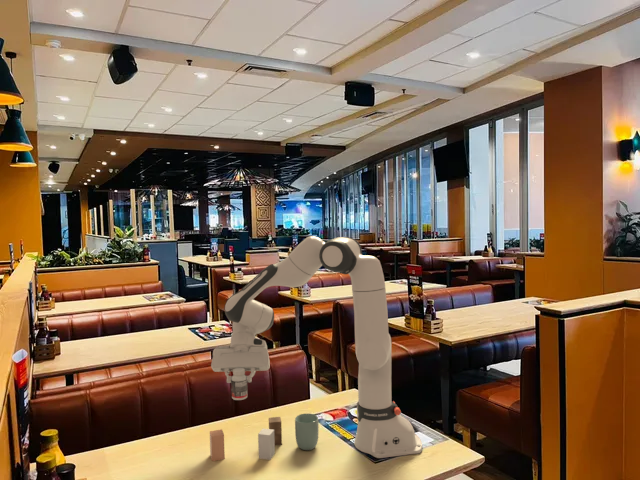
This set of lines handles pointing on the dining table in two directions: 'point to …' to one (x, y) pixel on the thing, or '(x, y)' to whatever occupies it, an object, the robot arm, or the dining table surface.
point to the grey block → (266, 444)
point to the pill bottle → (239, 384)
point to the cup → (306, 431)
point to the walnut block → (276, 429)
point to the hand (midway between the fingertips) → (238, 381)
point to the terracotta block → (217, 445)
